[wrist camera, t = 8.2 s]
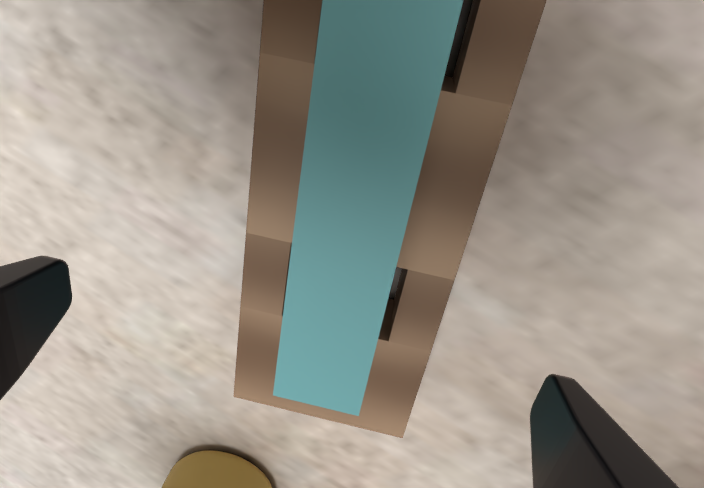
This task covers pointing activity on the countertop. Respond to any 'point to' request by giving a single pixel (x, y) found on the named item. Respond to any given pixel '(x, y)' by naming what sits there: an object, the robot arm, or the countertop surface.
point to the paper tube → (215, 472)
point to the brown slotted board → (425, 215)
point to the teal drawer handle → (357, 187)
